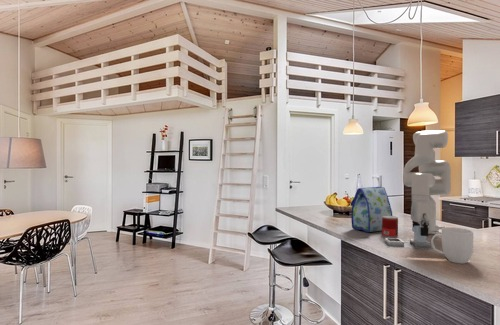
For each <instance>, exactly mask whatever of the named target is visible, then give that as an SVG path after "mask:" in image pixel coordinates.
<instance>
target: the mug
mask: <svg viewBox="0 0 500 325" xmlns="http://www.w3.org/2000/svg"><path fill="white" fill-rule="evenodd" d="M436 237H441V247H442V250H440V249H438V248H437V246H435V242H434V241H435V239H436ZM430 240H431V241H430V243H431V246H432V247H433V249H434V251H435V252H437V253H439V254H442V255H443V256H445V257H446V260H448V261H449V262H451V263H455V264H466V263H467V262H469V261H470V259H471V257H472V254H473V252H474V251H473V250H474V231H473V230H470V229H467V228H463V227H462V228H461V227H455V226H454V227H452V226H445V227H444V228H442V230H441V233H440V232H439V233H438V234H433V236H432V238H431V239H430Z"/></svg>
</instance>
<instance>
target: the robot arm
mask: <svg viewBox="0 0 500 325" xmlns="http://www.w3.org/2000/svg"><path fill="white" fill-rule="evenodd" d="M412 140H413V144H414V145H415V146H414V147H415V148H414V156H412V157H411V159H409V160H408V161H407V163H405V165H404V167H403V174H402V183H403V185H404V186H406V187H408V188H410V187H411V206H410V220H411V223H412V227H414V226H421V236H426V237H429V235H435V234H438V233H440V231H439V230H441V231H442V228H444V227H446V226H443V225H438V224H437V202H436V200H435V199H434V198H433V197H432V196H440V197H442V196H449V195H450V194H451V187H452V186H451V185H452V184H451V183H452V182H451V180H452V179H451V178H452V177H451V175H452V174H451V172H452V171H451V165H450V162H449V161H447V160H437V159H436V152H435V150H434V149H444V148H446V147H447V145H448V142H449V134H448V132H447V130H443V129H441V130H439V129H438V130H421V131H416V132H415V133H413V135H412ZM414 168H418V172H415V171H414V172H412V170H413V169H414ZM436 177H437V178H436ZM439 178H440V179H439Z"/></svg>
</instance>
